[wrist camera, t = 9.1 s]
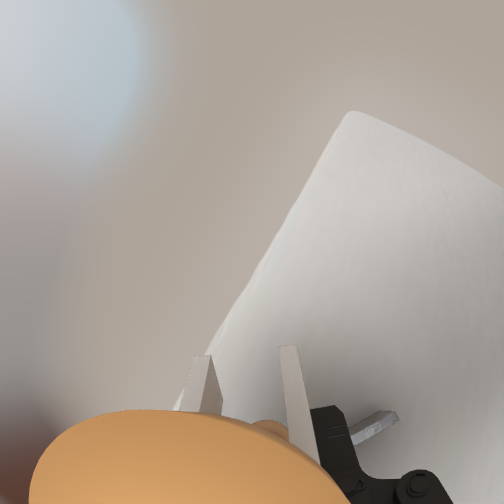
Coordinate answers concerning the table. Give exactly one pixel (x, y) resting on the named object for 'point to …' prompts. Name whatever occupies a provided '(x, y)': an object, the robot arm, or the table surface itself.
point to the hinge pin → (178, 463)
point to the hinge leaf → (372, 426)
